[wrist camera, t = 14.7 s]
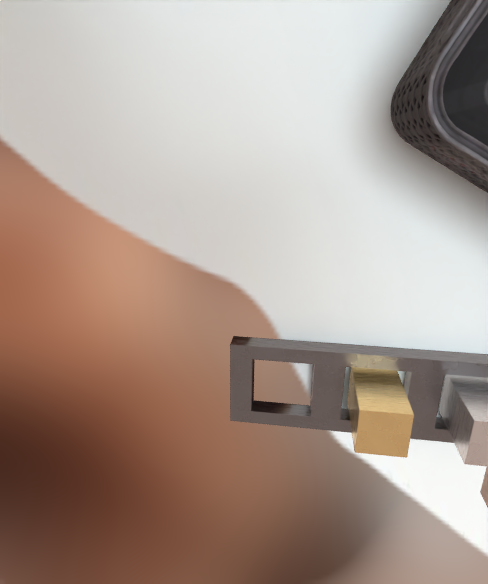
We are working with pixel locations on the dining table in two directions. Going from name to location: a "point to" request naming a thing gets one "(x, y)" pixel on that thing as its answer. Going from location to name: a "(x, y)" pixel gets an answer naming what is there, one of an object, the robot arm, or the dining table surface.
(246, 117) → the dining table surface
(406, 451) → the maple wood beam
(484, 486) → the robot arm
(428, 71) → the storage bin
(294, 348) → the rail
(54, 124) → the dining table surface
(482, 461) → the light grey block
